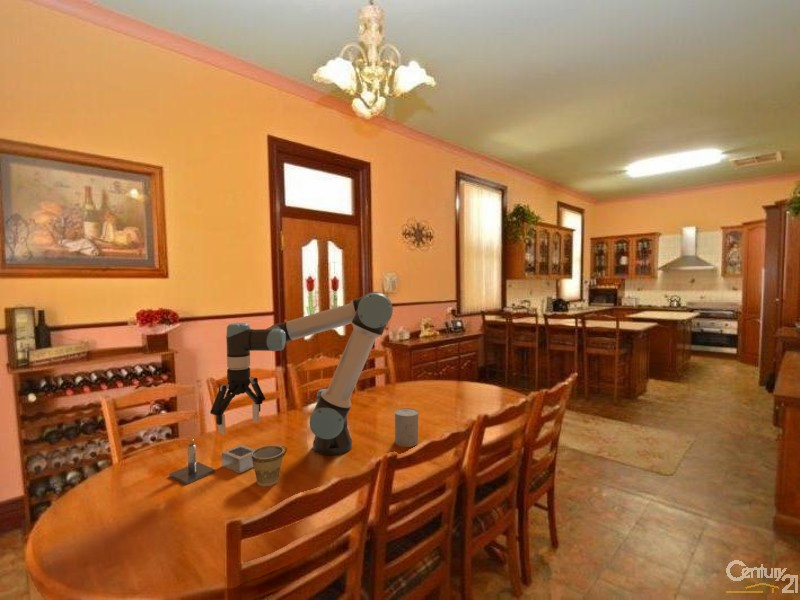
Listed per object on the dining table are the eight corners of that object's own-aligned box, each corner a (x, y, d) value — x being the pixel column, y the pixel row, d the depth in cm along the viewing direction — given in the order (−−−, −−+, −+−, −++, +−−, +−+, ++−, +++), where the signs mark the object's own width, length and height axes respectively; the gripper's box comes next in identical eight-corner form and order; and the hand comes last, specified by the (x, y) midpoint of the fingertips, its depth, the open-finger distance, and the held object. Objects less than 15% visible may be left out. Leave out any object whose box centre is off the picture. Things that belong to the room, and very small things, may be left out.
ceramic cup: (266, 492, 124) (265, 461, 123) (245, 483, 129) (244, 453, 128) (297, 475, 135) (297, 446, 134) (277, 467, 140) (276, 439, 139)
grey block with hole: (259, 464, 142) (259, 450, 142) (239, 473, 136) (239, 459, 135) (241, 457, 148) (241, 444, 147) (222, 466, 141) (221, 452, 141)
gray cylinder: (421, 439, 164) (422, 410, 164) (412, 448, 156) (412, 417, 155) (400, 435, 168) (400, 407, 168) (390, 444, 160) (390, 414, 159)
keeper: (214, 472, 137) (214, 437, 136) (185, 484, 128) (184, 448, 127) (198, 464, 142) (197, 431, 141) (169, 476, 134) (168, 441, 133)
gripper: (261, 360, 152) (262, 414, 153) (198, 373, 131) (199, 436, 132) (274, 362, 148) (275, 418, 149) (211, 376, 127) (212, 441, 128)
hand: (239, 427), depth 141 cm, fingers open, 13 cm apart
